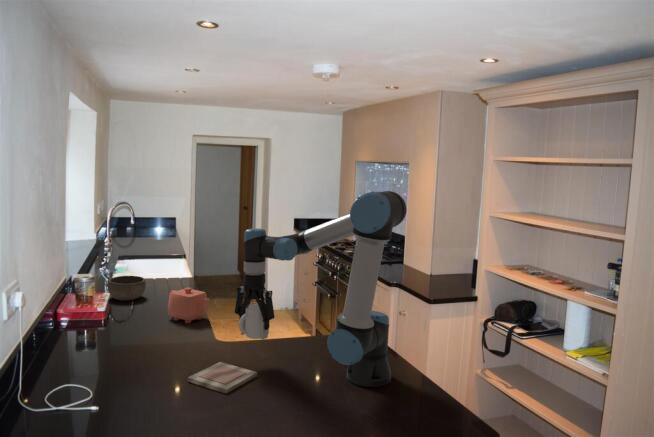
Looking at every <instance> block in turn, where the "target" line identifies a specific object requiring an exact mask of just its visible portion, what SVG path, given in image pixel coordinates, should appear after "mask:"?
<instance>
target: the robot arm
mask: <svg viewBox="0 0 654 437" xmlns="http://www.w3.org/2000/svg"><path fill="white" fill-rule="evenodd" d="M407 209H408V208H407V203H406V201H405V199H404V198H403V197H402V196H401V195H400V194H399V193H398V192H394V191H391V190H387V191H386V190H385V191H369V192H366V193H362V194H361V195H359V196H358V197H356V199H355V200H354V201H353V202H352V205H351V206H350V209H349V210H350V211H349V213H347V214H345V215H342V216H339V217H336V218H333V219H330V220H329V221H326V222H323V223H321V224H319V225H316V226H313V227H310V228H308V229H305V230H302V231H300V232H298V233H294V234H289V235H283V236H270V235H267V233H266V232H267V231H266V229H263V228H248V229H246V230H245V231H244V234H243V256H244V258H243V284H244V285H241V286H237V287H236V291H237V294H236V302H235V306H234V314H236V315H238V316H239V317H238V318H239V321H240V318H241V317H242V316H243V315H244V314H245V313H246V307H247V308H248V306H249V305H251V301H252V300H254V301H255V302H256V304H258V305H259V308H260V311H261V314H262V317H263V320H262V321H261V339H260V340H266V339H267V338H268V336H269V334H268V329H269V330H270V321H271V320H273V319H275V310H274V304H273V303H274V302H273V290H267V289H266V288H265V284H266V273H265V272H266V261H267V260H266V259H271V260H272V259H273V260H278V261H292V260H294V258H295V257H296V256H300V255H304V254H305V255H306V254H308V253H310V252H312V251H313V250H318V249H320V248H322V247H325V246H328V245H331V244H333V243H337V242H340V241H342V240H344V239H348V238H350V237H355V241H356V242H355V246H354V252H353V256H352V257H353V258H352V262H351V269H350V274H349V279H348V285H347V291H346V294H345V295H346V296H345V301H344V305H343V306H344V307H343V312H340V313H339V314H338V315H337V318H336V325H335V329H333V330H332V331H331V332H330V334H329V335H328V336H327V341H326V344H327V345H326V346H327V349H328V352H329V353H330V355H331V357H332V358H333V359H334V360H335V361H336V362H337V363H339V364H342V365H343V366H345V365H346V366H347V368H346V375H345V376H346V379H347V381H348V382H350V383H352V384H354V385H356V386H360V387H365V388H379V387H384V386H386V385H389V383H391V381H392V371H391V368H390V365H389V360H388V346H389V345H388V344H389V342H388V341H389V329H390V318H389V315H387V314H386V313H384V312H380V311H377V310H373V306H374V300H375V294H376V290H377V285H378V280H379V274H380V269H381V263H382V258H383V253H384V249H385V245H386V244H387V243H388V242H389V241H391V239H392V233H393V228H395V227H398V225H400V224H401V223H402V222H403V221H404V219H406V216H407ZM243 329H244V330H246V318H245V319H244V321H243ZM241 335H242V336H243V335H245V334H243V333H242V332H241V331H240V336H241Z"/></svg>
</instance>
